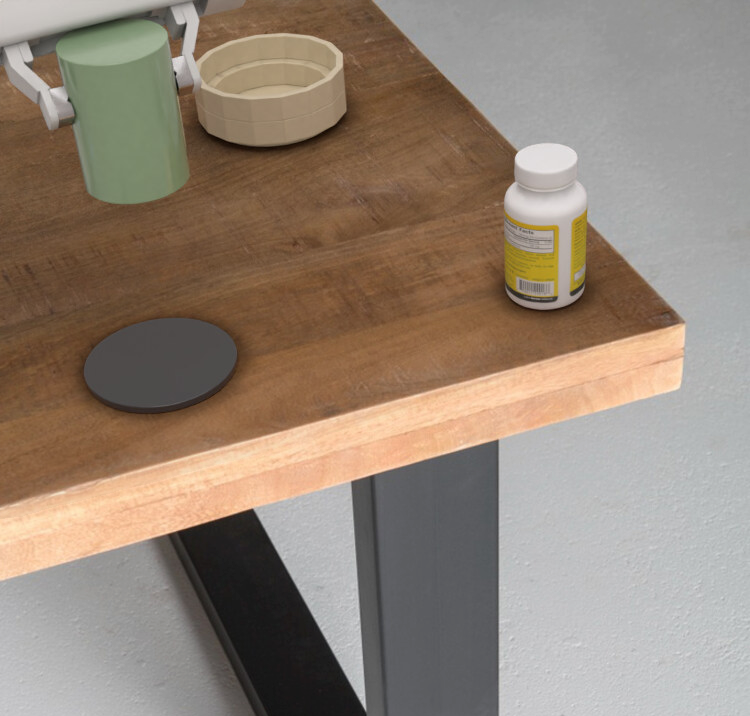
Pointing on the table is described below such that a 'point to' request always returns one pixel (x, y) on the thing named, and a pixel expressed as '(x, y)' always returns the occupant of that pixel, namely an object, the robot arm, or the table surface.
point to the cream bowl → (271, 89)
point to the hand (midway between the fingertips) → (127, 107)
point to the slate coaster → (160, 365)
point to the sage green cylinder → (125, 110)
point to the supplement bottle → (545, 228)
